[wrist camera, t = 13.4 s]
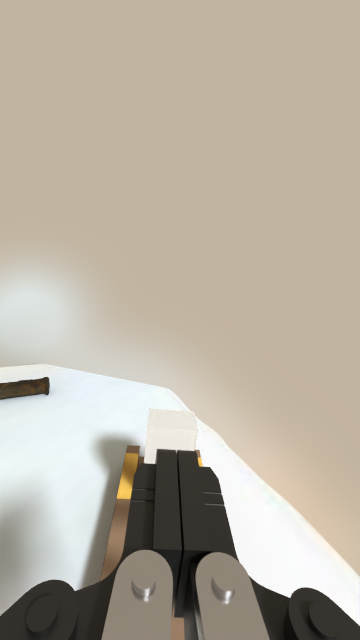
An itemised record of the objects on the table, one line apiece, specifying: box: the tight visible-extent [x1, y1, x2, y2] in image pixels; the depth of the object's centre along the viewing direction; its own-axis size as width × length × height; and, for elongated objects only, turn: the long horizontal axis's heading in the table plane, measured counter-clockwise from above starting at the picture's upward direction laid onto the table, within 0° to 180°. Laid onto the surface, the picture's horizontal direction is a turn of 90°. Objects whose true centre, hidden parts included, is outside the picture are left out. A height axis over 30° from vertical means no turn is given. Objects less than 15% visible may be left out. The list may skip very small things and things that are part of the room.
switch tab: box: [144, 409, 198, 464], centre depth 35 cm, size 6×7×13 cm
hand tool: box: [0, 377, 50, 399], centre depth 60 cm, size 19×4×5 cm, turn 118°
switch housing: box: [100, 445, 203, 640], centre depth 33 cm, size 24×12×4 cm, turn 3°
